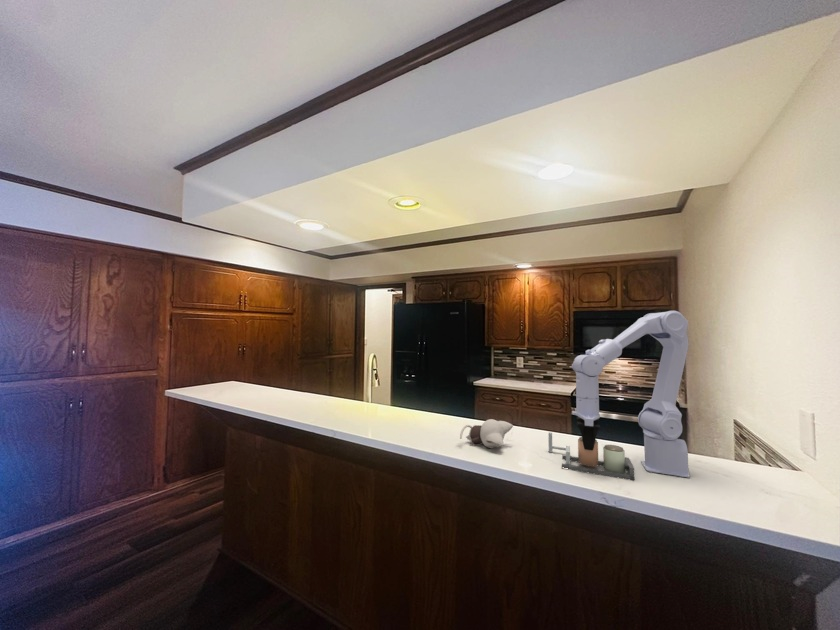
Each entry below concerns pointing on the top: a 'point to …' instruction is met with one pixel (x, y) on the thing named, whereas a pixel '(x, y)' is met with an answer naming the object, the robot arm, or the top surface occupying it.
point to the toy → (488, 433)
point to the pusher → (559, 448)
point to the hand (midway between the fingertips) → (588, 446)
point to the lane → (628, 468)
